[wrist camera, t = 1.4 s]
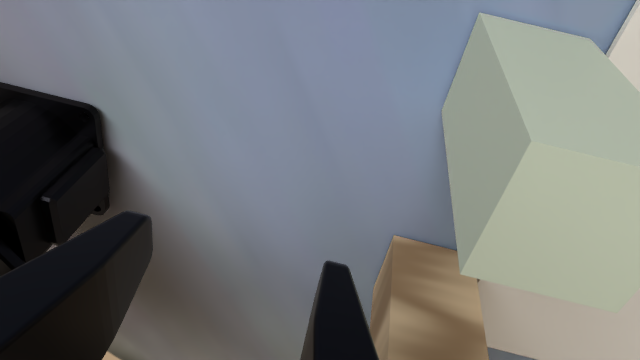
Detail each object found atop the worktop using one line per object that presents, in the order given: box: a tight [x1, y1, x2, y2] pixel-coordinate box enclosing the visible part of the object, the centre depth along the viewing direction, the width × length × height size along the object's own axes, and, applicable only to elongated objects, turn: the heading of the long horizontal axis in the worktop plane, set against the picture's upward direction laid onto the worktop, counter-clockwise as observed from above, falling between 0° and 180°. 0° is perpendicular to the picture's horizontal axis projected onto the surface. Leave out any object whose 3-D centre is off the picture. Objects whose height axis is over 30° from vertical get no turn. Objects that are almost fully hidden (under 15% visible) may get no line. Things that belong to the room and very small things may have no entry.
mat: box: [477, 0, 640, 360], centre depth 21 cm, size 10×19×1 cm, turn 169°
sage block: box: [442, 13, 640, 313], centre depth 14 cm, size 4×4×9 cm
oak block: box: [370, 235, 489, 360], centre depth 21 cm, size 4×4×9 cm
